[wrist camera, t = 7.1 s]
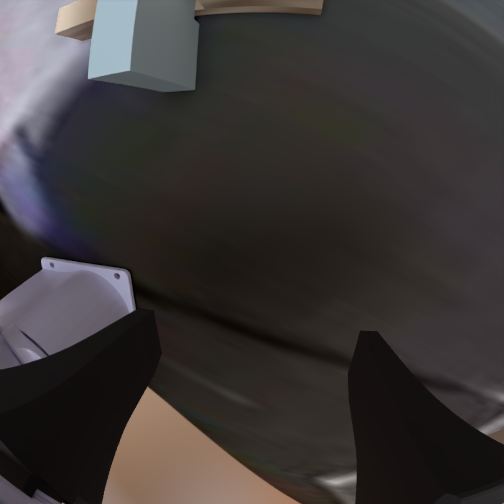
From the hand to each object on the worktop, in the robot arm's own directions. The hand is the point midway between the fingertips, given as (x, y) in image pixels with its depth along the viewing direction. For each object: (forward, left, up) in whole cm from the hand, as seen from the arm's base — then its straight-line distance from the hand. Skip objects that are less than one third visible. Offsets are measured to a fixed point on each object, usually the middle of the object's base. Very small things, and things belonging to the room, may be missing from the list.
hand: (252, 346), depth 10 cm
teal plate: (-6, +15, -9) cm, 19 cm away
